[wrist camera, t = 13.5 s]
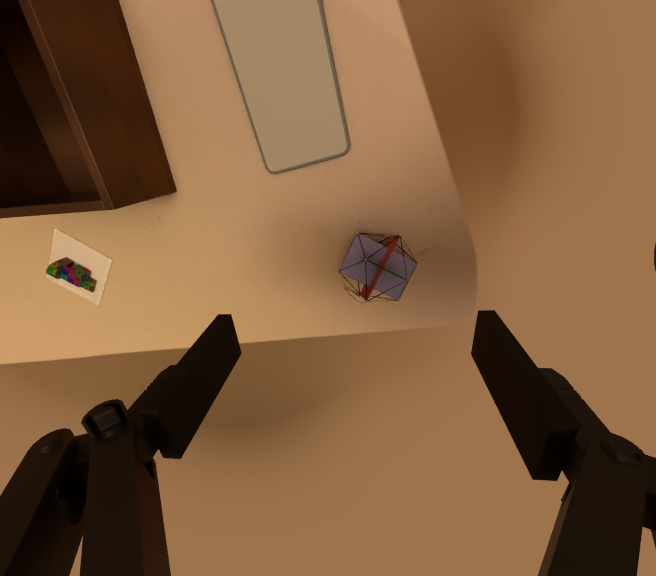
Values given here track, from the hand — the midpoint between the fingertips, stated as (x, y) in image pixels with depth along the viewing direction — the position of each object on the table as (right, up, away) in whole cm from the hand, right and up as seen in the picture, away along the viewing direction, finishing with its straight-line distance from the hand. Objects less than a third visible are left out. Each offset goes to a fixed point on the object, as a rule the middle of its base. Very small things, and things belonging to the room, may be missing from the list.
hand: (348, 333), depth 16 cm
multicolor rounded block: (-32, +5, +21) cm, 39 cm away
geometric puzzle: (+4, +6, +16) cm, 18 cm away
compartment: (-24, +19, +12) cm, 33 cm away
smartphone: (-5, +21, +9) cm, 23 cm away
